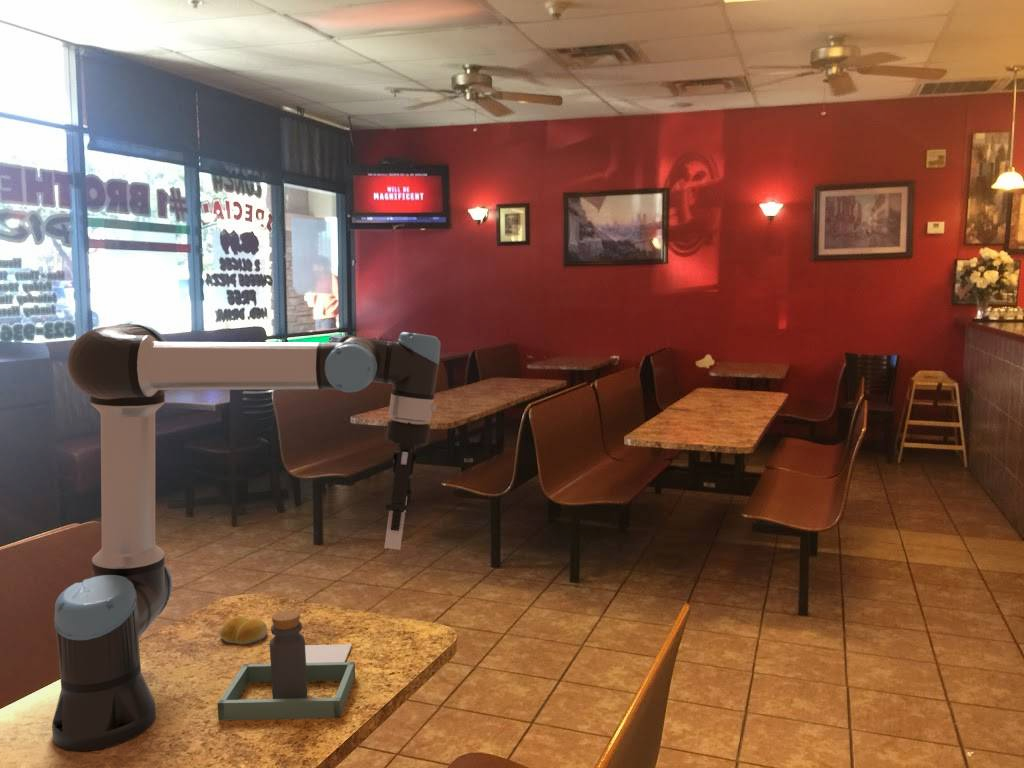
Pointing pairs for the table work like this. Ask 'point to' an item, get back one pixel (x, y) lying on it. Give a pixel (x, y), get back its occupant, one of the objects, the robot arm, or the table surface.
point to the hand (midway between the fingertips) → (393, 539)
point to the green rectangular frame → (287, 707)
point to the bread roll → (243, 630)
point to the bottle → (288, 656)
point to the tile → (327, 653)
